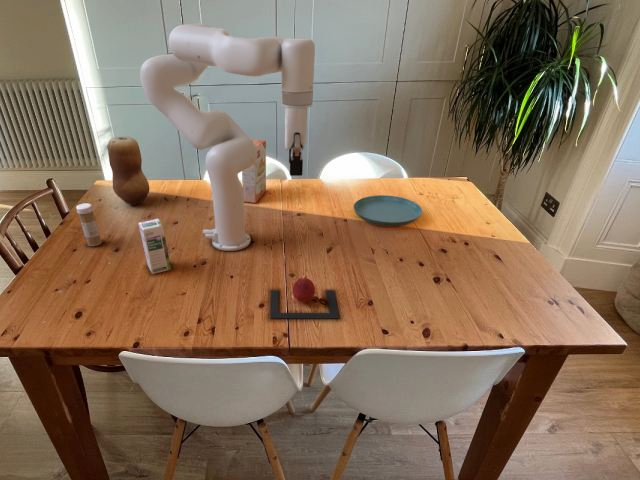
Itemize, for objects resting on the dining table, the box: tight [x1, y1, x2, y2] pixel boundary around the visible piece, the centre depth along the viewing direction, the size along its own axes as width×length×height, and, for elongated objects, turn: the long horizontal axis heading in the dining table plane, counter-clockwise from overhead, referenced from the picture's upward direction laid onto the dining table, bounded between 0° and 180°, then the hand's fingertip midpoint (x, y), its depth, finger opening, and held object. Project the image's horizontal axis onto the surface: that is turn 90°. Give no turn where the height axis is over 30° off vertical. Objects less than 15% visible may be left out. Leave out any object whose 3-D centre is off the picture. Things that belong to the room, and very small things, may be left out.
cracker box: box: [241, 139, 267, 204], centre depth 160 cm, size 14×6×21 cm, turn 164°
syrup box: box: [138, 218, 172, 275], centre depth 117 cm, size 6×6×14 cm
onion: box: [291, 274, 316, 303], centre depth 105 cm, size 6×6×8 cm
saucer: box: [353, 194, 423, 228], centre depth 149 cm, size 24×24×3 cm
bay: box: [269, 289, 340, 320], centre depth 106 cm, size 17×12×1 cm
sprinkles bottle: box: [75, 202, 103, 248], centre depth 130 cm, size 5×5×14 cm
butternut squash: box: [106, 136, 150, 207], centre depth 155 cm, size 14×13×25 cm
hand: (295, 168), depth 108 cm, fingers open, 9 cm apart
